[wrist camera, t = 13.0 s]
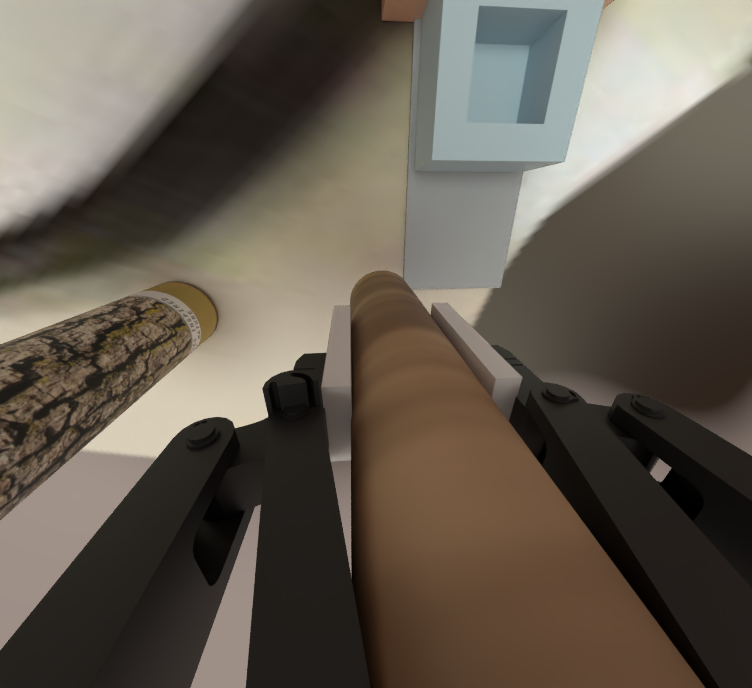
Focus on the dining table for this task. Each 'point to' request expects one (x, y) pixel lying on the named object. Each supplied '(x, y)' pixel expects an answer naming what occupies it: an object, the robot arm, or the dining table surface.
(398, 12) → the wall
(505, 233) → the mat
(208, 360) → the dining table surface
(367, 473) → the dowel
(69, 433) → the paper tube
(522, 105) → the socket block
